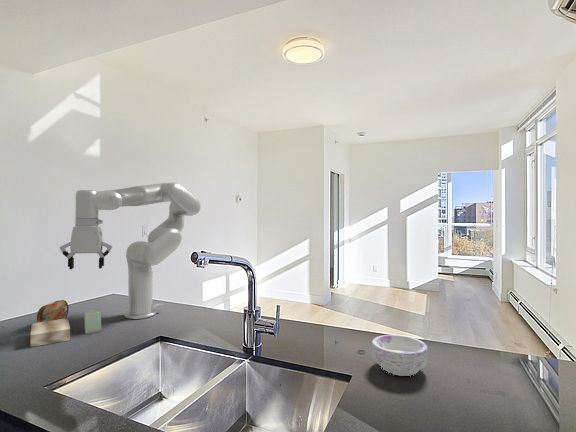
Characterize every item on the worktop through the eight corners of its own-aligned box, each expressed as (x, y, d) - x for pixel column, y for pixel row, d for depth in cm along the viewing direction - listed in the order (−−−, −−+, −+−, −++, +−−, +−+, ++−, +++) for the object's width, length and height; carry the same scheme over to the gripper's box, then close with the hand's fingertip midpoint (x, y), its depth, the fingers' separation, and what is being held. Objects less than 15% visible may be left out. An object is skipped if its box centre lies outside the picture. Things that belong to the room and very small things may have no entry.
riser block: (68, 328, 131) (67, 318, 131) (70, 340, 120) (70, 328, 120) (31, 334, 125) (31, 323, 125) (30, 347, 113) (30, 335, 113)
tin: (43, 330, 129) (43, 308, 129) (34, 330, 129) (34, 307, 129) (69, 317, 144) (69, 297, 144) (62, 317, 144) (61, 297, 144)
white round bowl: (380, 354, 110) (380, 329, 110) (431, 366, 102) (431, 339, 102) (364, 373, 97) (365, 345, 97) (421, 388, 89) (422, 358, 89)
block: (99, 327, 133) (99, 309, 133) (101, 331, 129) (101, 312, 129) (84, 329, 130) (84, 311, 130) (85, 333, 126) (85, 314, 126)
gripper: (113, 223, 136) (113, 266, 137) (63, 222, 131) (62, 267, 131) (110, 223, 129) (110, 269, 129) (57, 223, 124) (56, 270, 124)
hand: (86, 268), depth 130 cm, fingers open, 9 cm apart
